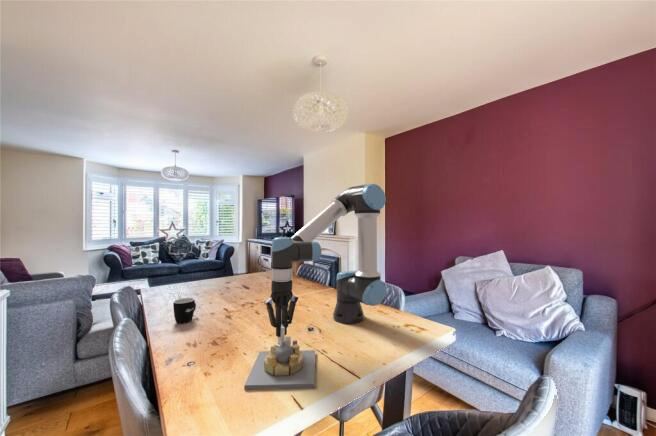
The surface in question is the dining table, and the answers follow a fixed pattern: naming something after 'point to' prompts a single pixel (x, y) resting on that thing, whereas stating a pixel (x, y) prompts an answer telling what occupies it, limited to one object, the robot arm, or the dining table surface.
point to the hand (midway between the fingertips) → (281, 344)
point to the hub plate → (296, 380)
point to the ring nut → (284, 368)
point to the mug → (184, 310)
